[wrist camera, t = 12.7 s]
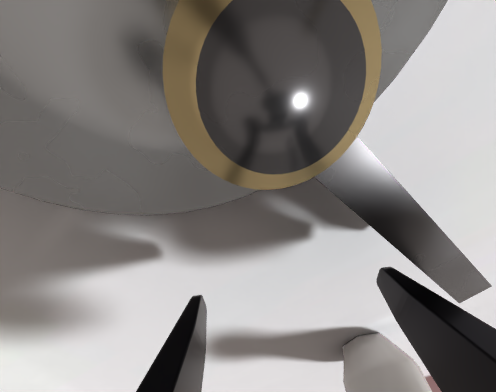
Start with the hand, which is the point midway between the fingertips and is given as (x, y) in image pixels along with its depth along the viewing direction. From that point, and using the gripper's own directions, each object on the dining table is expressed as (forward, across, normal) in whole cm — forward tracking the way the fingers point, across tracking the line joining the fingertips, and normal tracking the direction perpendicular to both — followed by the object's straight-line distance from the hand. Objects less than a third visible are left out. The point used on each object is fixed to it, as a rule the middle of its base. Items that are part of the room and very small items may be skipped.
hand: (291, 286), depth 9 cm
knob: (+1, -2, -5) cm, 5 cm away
